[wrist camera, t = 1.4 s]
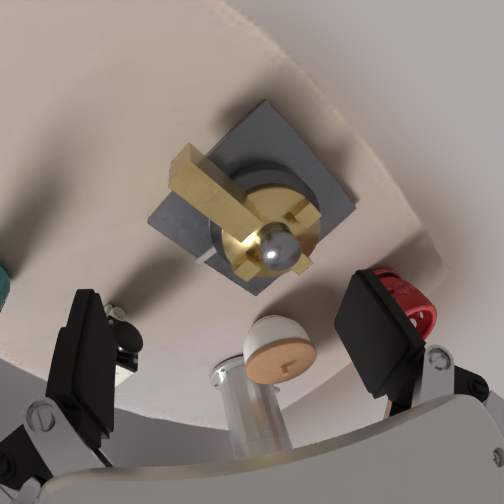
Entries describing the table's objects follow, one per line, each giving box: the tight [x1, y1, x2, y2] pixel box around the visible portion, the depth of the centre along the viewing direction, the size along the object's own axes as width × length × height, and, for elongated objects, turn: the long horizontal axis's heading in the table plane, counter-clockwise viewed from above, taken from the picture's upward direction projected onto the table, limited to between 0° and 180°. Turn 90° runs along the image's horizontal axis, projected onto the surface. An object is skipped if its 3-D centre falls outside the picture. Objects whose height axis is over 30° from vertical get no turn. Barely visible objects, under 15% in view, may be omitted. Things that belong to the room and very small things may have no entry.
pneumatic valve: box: [104, 304, 143, 387], centre depth 33 cm, size 6×12×12 cm, turn 131°
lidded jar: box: [243, 315, 317, 384], centre depth 43 cm, size 11×11×9 cm
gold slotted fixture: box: [168, 143, 322, 282], centre depth 26 cm, size 17×10×6 cm, turn 43°
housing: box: [147, 100, 356, 296], centre depth 33 cm, size 18×18×4 cm
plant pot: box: [373, 269, 437, 340], centre depth 43 cm, size 13×13×12 cm
